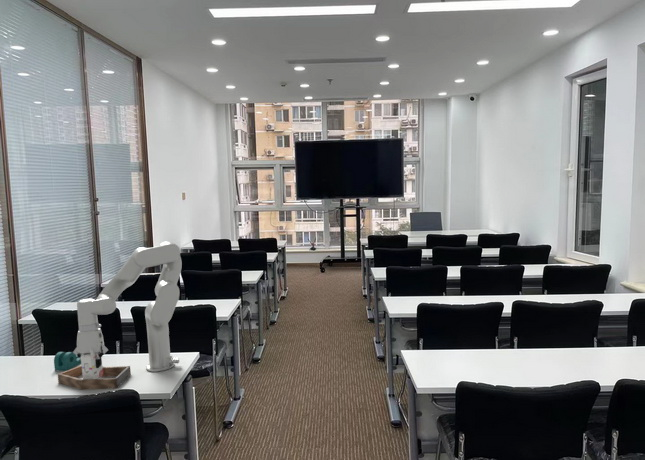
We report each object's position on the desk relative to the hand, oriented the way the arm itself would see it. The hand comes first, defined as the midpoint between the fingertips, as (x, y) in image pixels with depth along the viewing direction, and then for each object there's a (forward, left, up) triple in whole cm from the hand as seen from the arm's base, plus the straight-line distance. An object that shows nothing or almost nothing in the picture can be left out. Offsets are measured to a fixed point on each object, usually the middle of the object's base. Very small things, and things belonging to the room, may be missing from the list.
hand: (92, 366), depth 201 cm
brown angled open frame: (+1, -3, -7) cm, 7 cm away
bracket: (+21, -24, -7) cm, 33 cm away
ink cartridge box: (0, 0, -6) cm, 6 cm away
